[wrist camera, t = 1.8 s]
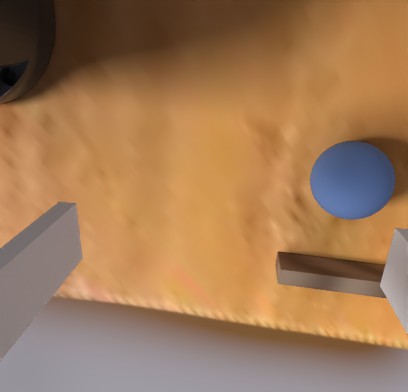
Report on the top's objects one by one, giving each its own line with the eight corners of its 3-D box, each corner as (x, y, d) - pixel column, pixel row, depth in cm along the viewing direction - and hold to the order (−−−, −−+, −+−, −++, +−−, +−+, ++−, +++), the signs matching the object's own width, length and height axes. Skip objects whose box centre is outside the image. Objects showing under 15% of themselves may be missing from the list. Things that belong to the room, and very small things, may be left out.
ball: (299, 197, 31) (310, 227, 26) (312, 130, 29) (327, 147, 23) (368, 205, 31) (395, 238, 25) (387, 137, 28) (421, 157, 23)
